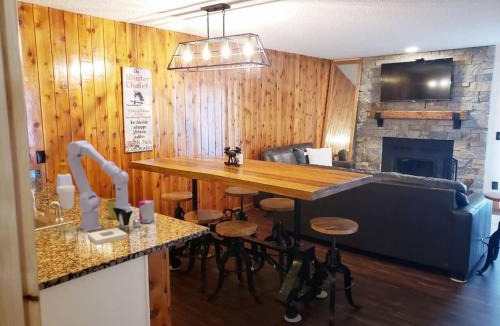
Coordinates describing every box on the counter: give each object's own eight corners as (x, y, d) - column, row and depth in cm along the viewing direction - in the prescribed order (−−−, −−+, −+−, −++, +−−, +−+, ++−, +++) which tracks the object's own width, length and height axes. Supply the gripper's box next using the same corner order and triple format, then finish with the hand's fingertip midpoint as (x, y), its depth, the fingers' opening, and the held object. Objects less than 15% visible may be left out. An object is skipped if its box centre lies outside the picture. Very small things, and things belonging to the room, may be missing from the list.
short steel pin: (131, 226, 195) (131, 220, 194) (138, 225, 197) (138, 218, 197) (134, 228, 192) (134, 221, 192) (141, 227, 194) (141, 220, 194)
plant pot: (130, 216, 213) (129, 199, 212) (116, 221, 204) (115, 203, 203) (116, 213, 218) (115, 197, 217) (102, 218, 209) (101, 201, 207)
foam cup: (69, 210, 225) (68, 188, 223) (55, 209, 226) (53, 188, 224) (79, 206, 234) (77, 185, 232) (65, 205, 235) (63, 184, 234)
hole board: (87, 237, 178) (87, 233, 178) (117, 231, 187) (117, 227, 187) (96, 244, 169) (96, 240, 169) (127, 237, 178) (127, 233, 178)
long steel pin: (118, 229, 190) (117, 213, 189) (125, 228, 193) (124, 212, 192) (121, 231, 188) (120, 215, 187) (128, 229, 190) (127, 214, 189)
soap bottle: (69, 190, 276) (66, 160, 273) (74, 194, 266) (72, 162, 262) (54, 192, 270) (52, 161, 267) (59, 196, 260) (57, 163, 256)
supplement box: (154, 221, 205) (154, 200, 203) (149, 224, 199) (148, 202, 197) (145, 220, 206) (144, 199, 204) (139, 223, 200) (138, 202, 199)
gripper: (135, 197, 185) (137, 225, 187) (123, 192, 196) (125, 218, 198) (121, 200, 180) (123, 228, 182) (110, 194, 191) (111, 221, 193)
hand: (123, 223), depth 190 cm, fingers open, 7 cm apart
